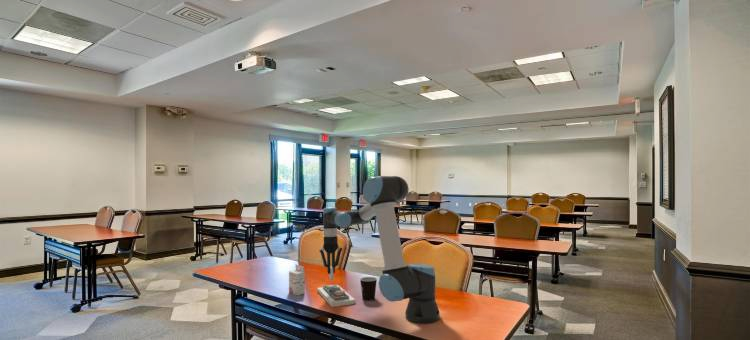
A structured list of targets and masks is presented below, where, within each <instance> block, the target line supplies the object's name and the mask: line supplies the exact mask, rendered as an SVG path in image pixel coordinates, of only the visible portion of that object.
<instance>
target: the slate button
mask: <svg viewBox="0 0 750 340" xmlns="http://www.w3.org/2000/svg"><path fill="white" fill-rule="evenodd" d="M340 287H341V286H340ZM340 287H338V286H334V287H331V288H330V290H331V292H335V291H338V290H340Z"/></svg>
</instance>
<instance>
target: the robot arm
mask: <svg viewBox="0 0 750 340" xmlns="http://www.w3.org/2000/svg"><path fill="white" fill-rule="evenodd" d="M409 189H410V188H409V184H408V182H407V181H406V180H405V179H404V178H402V177H400V176H397V175H393V176H391V175H389V176H388V175H387V176H385V175H376V176H370V177H368V179H366V181H365V182H364V185H363V187H362V196H363V199H364V201H365V202H366V204H365V205H363V206H362V207H360V208H359V209H357V210H351V211H350V210H349V211H338V208H337V207H335V206H334V207H333V206H332V207H331V206H330V207H324V208H323V211H322V212H323V213H322V222H323V225H322V226H323V227H322V228H323V246H322V247H321V248H320V249H319V248H318V252H319V253H320V256H321V260H322V262H323V263H322V264H323V266H324V267H325V268H326V269H327V274H328V275H329V276H328V277H329V280H330V281H333V280H334V274H335V273H336V267H338V266H339V263H340V258H341V253H342V251H343V248H342V247H341V246H339V244H338V240H339V239H338V227H340V228H345V227H348V226H357V225H366V224H369V223H370V222H371V220H372V219H373V217H375V219H376V223H377V229H378V230H377V231H378V235H379V240H380V245H381V247H380V248H381V252H382V257H383V258H382V259H383V265H384V266H383V267H382V269H381V270H382V271H381V272H382V274H381V276H380V277H379V280H378V289H379V291H380V293H381V295H382V296H383V297H384V298H385V299H386V300H387V301H388V302H392V303H394V302H401V301H403V300H406V299H408V302H407V305H406V308H405V319H406V320H408V321H410V322H413V323H417V324H432V323H435V322H437V321H439V320H440V310H439V307H438V304H437V301H436V271H435V268H434V267H433V266H431V265H429V264H428V265H427V264H423V263H422V264H421V263H410V264H408V263H406V261H405V260H404V254H403V249H402V242H401V238H400V233H399V227H398V224H397V223H398V222H397V217H396V212H395V206H396V205H398V204H400V203H401V202H403V201H404V200H405V199H406V198H407V196H408V194H409ZM336 251H337V252H336ZM325 253H326V256H325Z"/></svg>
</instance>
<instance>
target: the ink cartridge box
mask: <svg viewBox="0 0 750 340" xmlns="http://www.w3.org/2000/svg"><path fill="white" fill-rule="evenodd" d="M305 278H306V273H305V266H303V265H299V264H295V269H293V270H289V271H288V292H289V293H290V294H293V295H296V296H302V295H304V294H305V293H306V289H305V286H306V285H305V283H306V280H305Z"/></svg>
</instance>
